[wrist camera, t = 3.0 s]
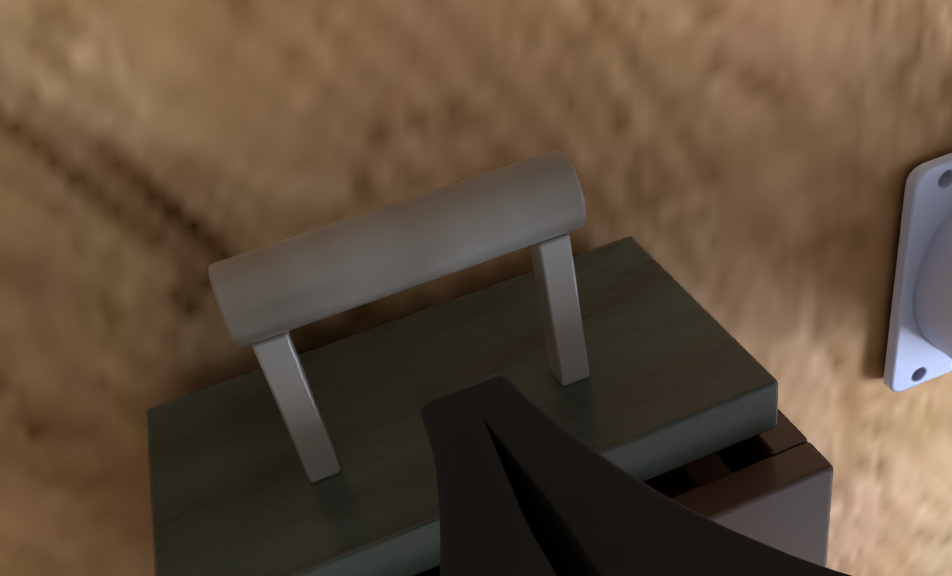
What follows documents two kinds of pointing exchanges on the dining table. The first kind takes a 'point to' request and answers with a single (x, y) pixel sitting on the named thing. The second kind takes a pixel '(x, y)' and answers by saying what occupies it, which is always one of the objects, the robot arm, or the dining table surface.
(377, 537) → the drawer
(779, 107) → the dining table surface
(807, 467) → the cabinet
